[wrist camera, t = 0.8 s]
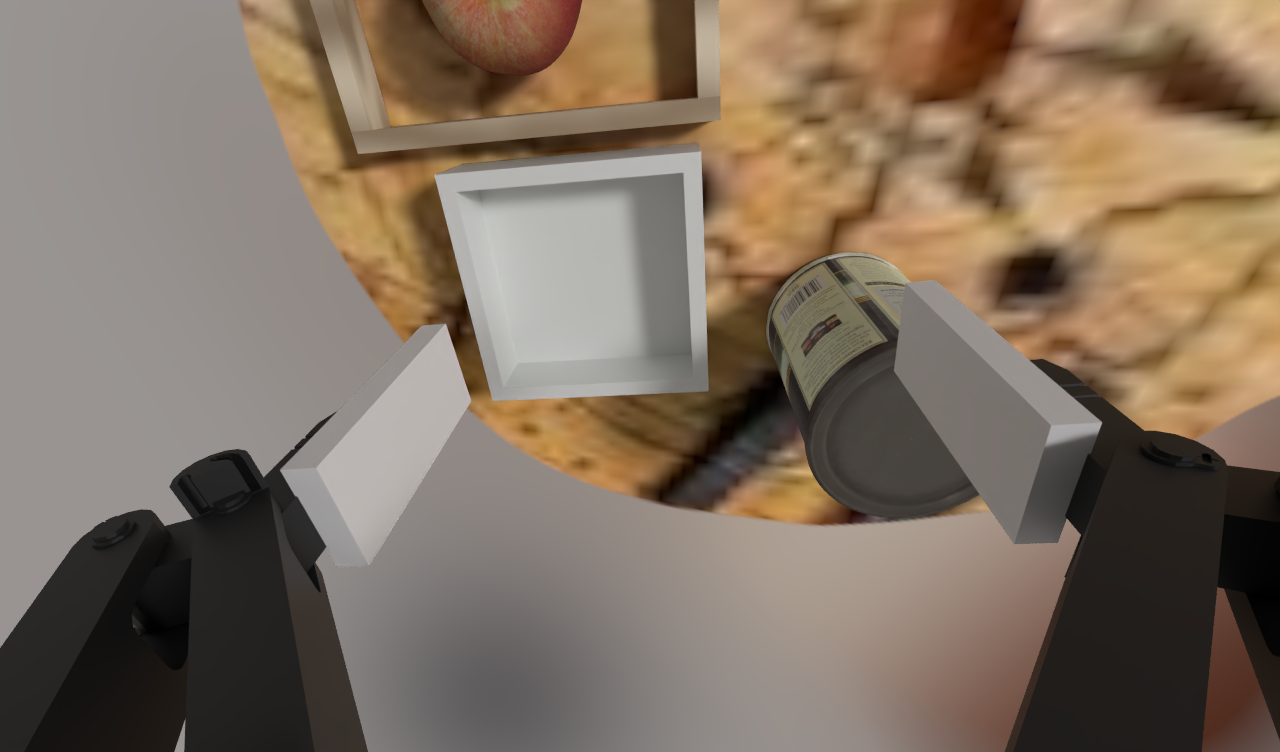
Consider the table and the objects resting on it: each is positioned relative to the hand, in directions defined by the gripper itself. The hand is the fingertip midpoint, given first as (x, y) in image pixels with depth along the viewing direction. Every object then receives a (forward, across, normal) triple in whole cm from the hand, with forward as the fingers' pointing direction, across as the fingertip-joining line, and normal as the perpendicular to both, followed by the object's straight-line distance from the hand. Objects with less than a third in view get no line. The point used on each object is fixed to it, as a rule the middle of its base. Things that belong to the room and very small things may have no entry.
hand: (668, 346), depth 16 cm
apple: (+22, -8, +12) cm, 26 cm away
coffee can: (+22, +11, -10) cm, 26 cm away
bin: (+22, -6, -4) cm, 23 cm away
